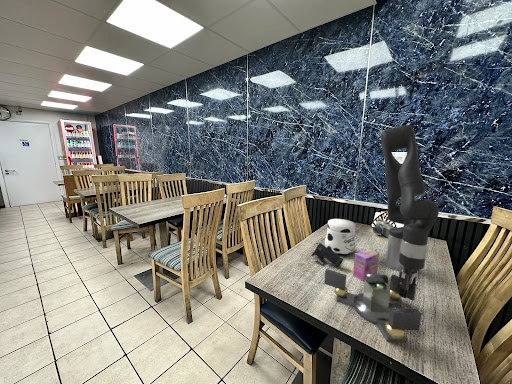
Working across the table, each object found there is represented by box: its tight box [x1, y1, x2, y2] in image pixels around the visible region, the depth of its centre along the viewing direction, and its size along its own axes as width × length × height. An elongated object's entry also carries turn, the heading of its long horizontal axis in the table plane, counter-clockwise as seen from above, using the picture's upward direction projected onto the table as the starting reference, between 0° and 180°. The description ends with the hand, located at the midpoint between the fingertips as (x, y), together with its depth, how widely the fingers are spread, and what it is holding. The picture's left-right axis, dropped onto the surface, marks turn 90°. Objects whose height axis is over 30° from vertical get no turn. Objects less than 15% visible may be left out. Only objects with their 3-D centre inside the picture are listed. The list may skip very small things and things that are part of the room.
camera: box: [372, 218, 394, 239], centre depth 148 cm, size 16×10×10 cm, turn 1°
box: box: [352, 248, 380, 282], centre depth 96 cm, size 10×6×12 cm, turn 117°
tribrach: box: [336, 273, 406, 343], centre depth 72 cm, size 25×22×14 cm
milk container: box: [324, 218, 356, 255], centre depth 122 cm, size 17×17×18 cm
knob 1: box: [387, 274, 418, 302], centre depth 77 cm, size 9×5×8 cm, turn 35°
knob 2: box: [385, 307, 422, 340], centre depth 62 cm, size 9×5×8 cm, turn 86°
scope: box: [310, 242, 344, 268], centre depth 108 cm, size 8×14×10 cm, turn 42°
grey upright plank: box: [323, 268, 349, 297], centre depth 82 cm, size 9×5×8 cm, turn 56°
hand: (406, 292), depth 76 cm, fingers open, 8 cm apart
